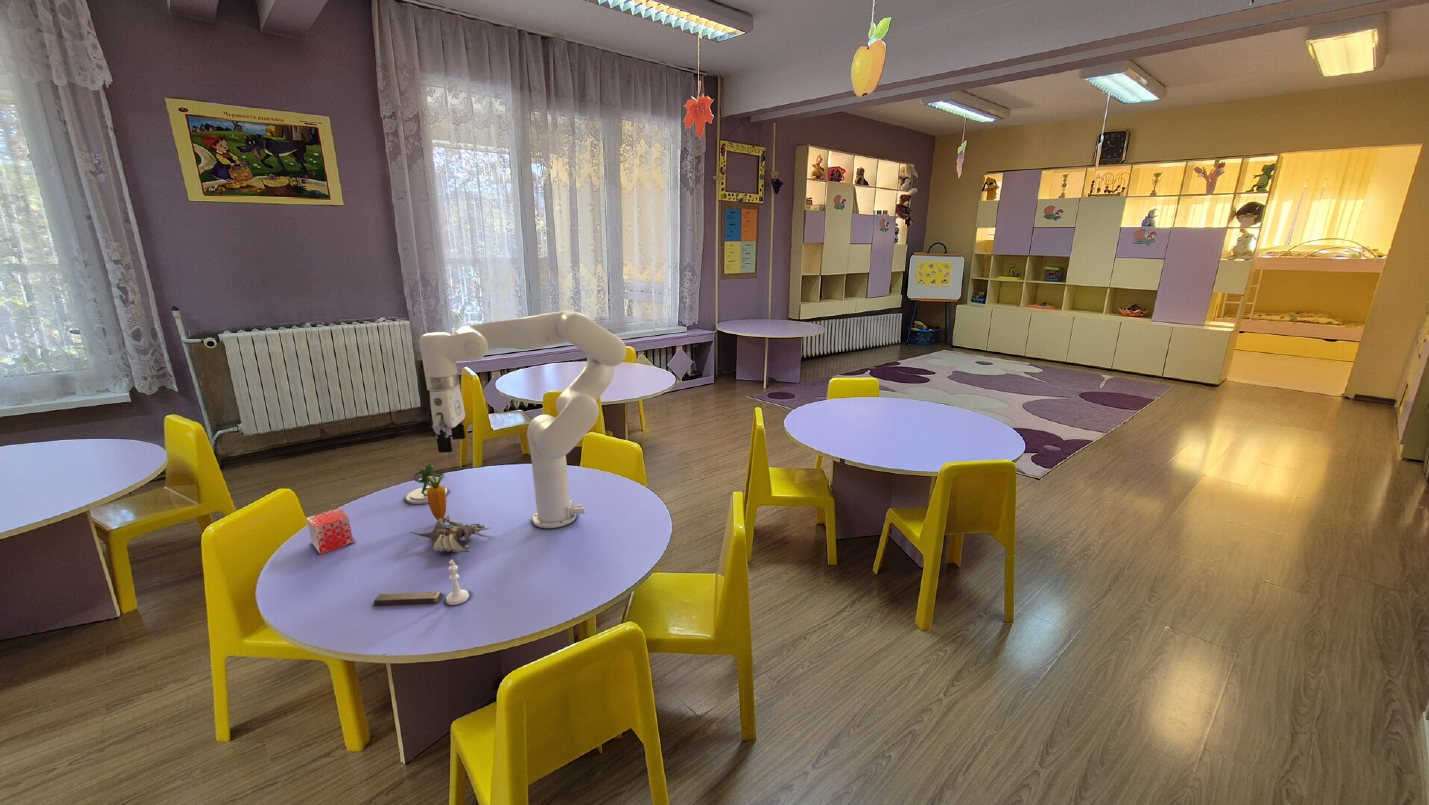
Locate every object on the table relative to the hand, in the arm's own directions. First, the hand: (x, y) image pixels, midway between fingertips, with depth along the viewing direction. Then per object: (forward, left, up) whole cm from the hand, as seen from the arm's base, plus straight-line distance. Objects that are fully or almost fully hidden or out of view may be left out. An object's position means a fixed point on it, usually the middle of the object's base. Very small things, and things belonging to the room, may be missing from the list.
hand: (452, 445), depth 149 cm
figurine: (+3, +3, -28) cm, 28 cm away
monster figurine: (+24, -30, -28) cm, 48 cm away
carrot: (+12, -11, -28) cm, 32 cm away
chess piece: (-7, +27, -28) cm, 40 cm away
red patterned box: (+37, -1, -28) cm, 46 cm away
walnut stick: (+4, +27, -28) cm, 39 cm away
